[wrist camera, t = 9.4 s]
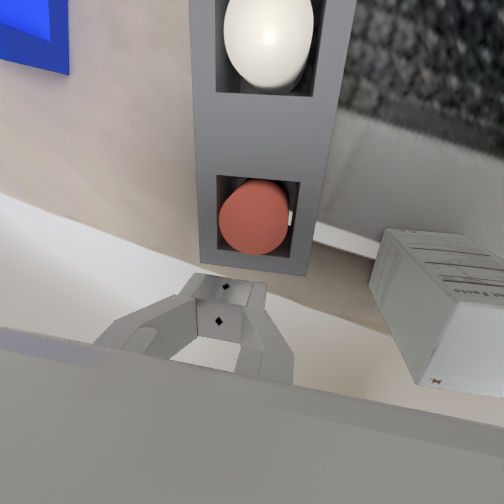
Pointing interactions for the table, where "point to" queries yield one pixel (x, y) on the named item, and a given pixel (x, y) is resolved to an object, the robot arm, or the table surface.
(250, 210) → the red plug
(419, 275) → the supplement box
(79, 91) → the table surface
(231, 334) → the robot arm
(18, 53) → the bracket
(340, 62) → the block
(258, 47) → the plug
